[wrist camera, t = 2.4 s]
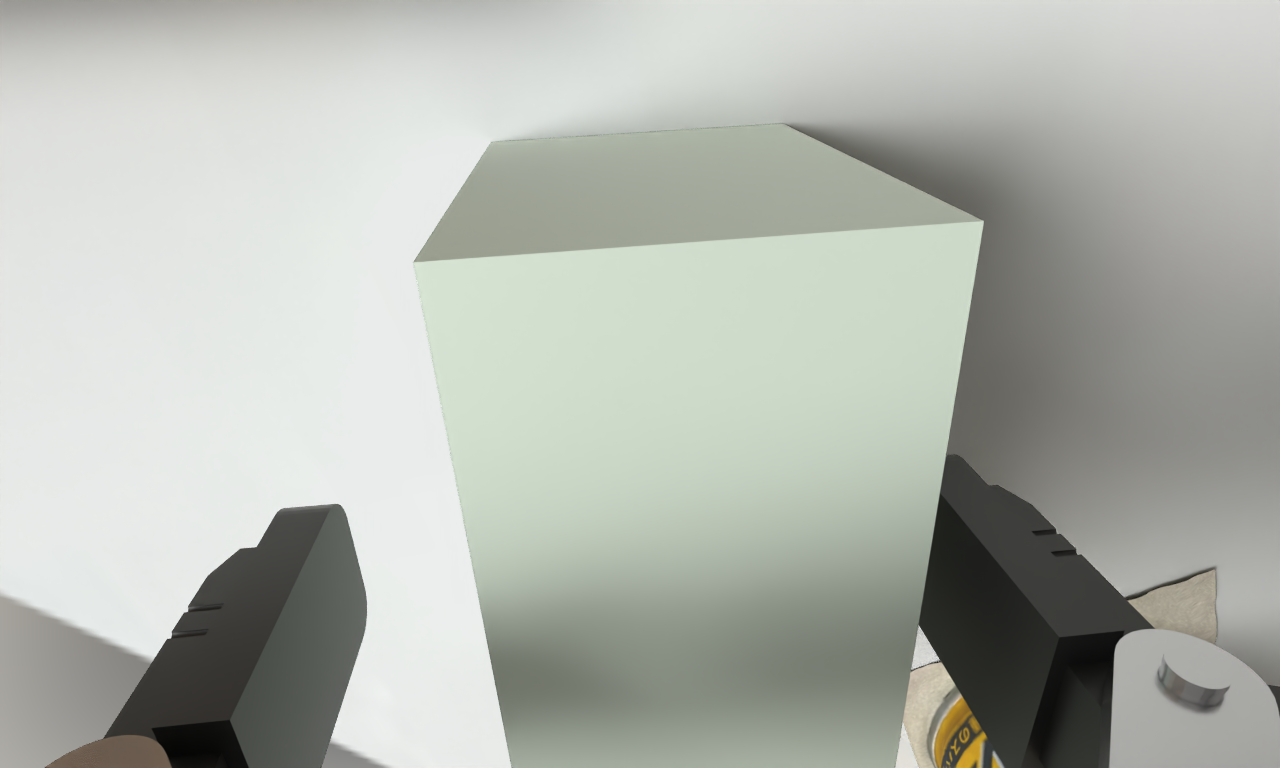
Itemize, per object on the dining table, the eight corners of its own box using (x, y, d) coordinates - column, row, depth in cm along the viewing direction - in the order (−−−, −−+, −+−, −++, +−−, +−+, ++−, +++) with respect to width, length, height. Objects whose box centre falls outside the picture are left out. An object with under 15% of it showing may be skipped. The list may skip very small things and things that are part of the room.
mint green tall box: (780, 122, 13) (984, 220, 6) (764, 595, 18) (871, 912, 11) (491, 141, 12) (412, 261, 6) (555, 616, 17) (548, 953, 11)
